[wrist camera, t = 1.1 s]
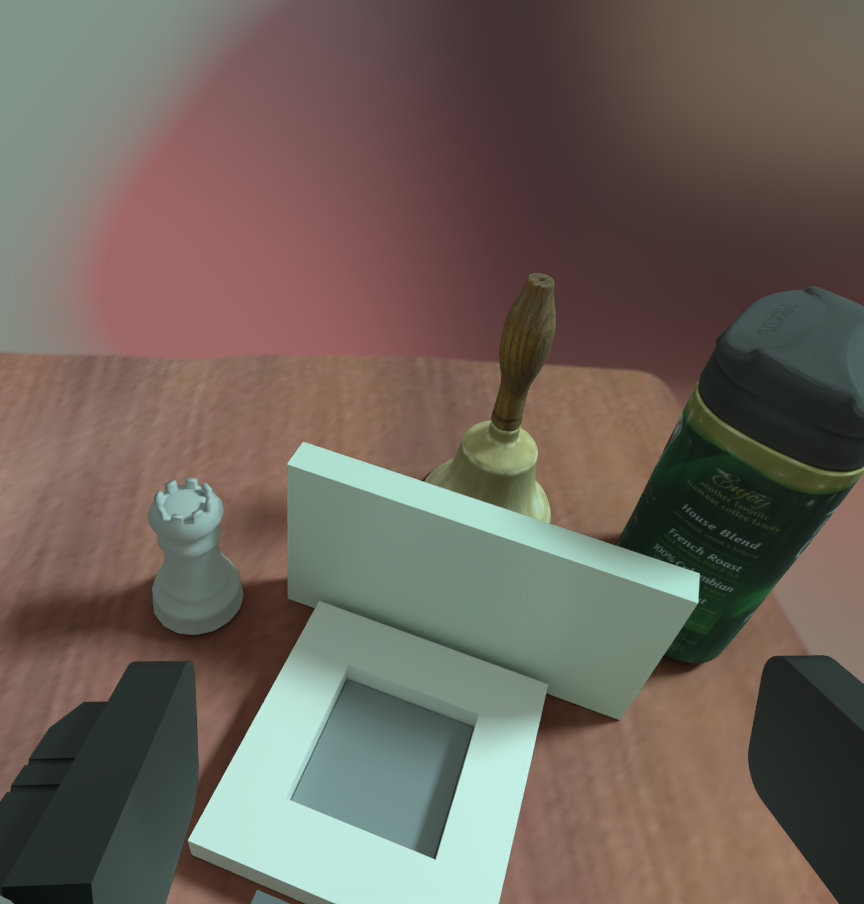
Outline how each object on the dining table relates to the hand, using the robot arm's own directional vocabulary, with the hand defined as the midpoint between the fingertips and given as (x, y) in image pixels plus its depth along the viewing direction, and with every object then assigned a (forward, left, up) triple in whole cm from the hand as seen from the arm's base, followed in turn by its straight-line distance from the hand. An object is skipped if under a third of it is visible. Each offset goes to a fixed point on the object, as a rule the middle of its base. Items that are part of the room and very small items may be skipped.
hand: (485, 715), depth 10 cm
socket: (-2, +10, -23) cm, 25 cm away
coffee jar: (+9, +24, -23) cm, 35 cm away
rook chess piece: (-15, +13, -23) cm, 31 cm away
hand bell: (-3, +26, -23) cm, 35 cm away
